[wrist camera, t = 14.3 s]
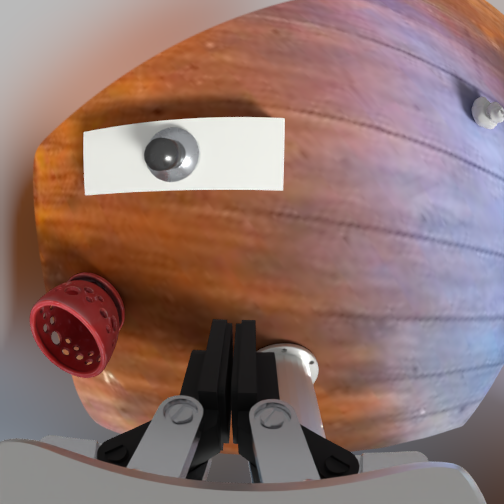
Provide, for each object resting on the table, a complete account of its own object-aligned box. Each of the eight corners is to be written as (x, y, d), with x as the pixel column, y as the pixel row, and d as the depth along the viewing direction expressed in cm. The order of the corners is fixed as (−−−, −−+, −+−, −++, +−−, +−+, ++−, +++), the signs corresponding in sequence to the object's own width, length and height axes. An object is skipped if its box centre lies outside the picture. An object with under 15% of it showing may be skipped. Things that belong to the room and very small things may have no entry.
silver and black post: (207, 177, 35) (191, 184, 25) (162, 179, 35) (131, 187, 25) (207, 131, 33) (191, 120, 23) (161, 133, 33) (131, 126, 23)
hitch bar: (278, 185, 36) (282, 190, 30) (104, 189, 35) (85, 195, 30) (279, 124, 33) (284, 118, 28) (103, 134, 33) (83, 132, 28)
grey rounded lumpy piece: (461, 106, 31) (493, 102, 23) (479, 92, 29) (510, 87, 22) (475, 135, 32) (508, 136, 24) (492, 119, 31) (523, 119, 23)
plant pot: (83, 335, 43) (52, 375, 32) (59, 268, 39) (16, 300, 28) (144, 335, 43) (118, 384, 32) (121, 261, 39) (81, 298, 27)
